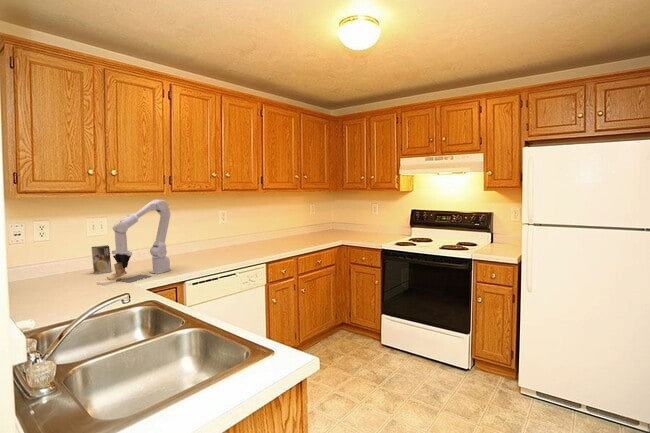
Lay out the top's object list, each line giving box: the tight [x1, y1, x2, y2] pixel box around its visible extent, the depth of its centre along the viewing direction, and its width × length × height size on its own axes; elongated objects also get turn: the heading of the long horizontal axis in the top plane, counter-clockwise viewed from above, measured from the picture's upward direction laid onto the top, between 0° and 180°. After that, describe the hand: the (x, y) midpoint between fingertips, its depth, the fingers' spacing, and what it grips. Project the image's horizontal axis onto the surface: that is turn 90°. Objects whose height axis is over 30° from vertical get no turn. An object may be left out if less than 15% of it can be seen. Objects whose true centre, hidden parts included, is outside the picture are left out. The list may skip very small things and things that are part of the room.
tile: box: [96, 278, 117, 286], centre depth 200 cm, size 2×6×7 cm
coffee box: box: [91, 244, 112, 275], centre depth 225 cm, size 9×6×16 cm
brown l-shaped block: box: [106, 262, 128, 280], centre depth 205 cm, size 9×4×7 cm, turn 155°
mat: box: [118, 274, 152, 283], centre depth 209 cm, size 14×9×1 cm, turn 155°
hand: (122, 267), depth 209 cm, fingers closed on brown l-shaped block, 3 cm apart
